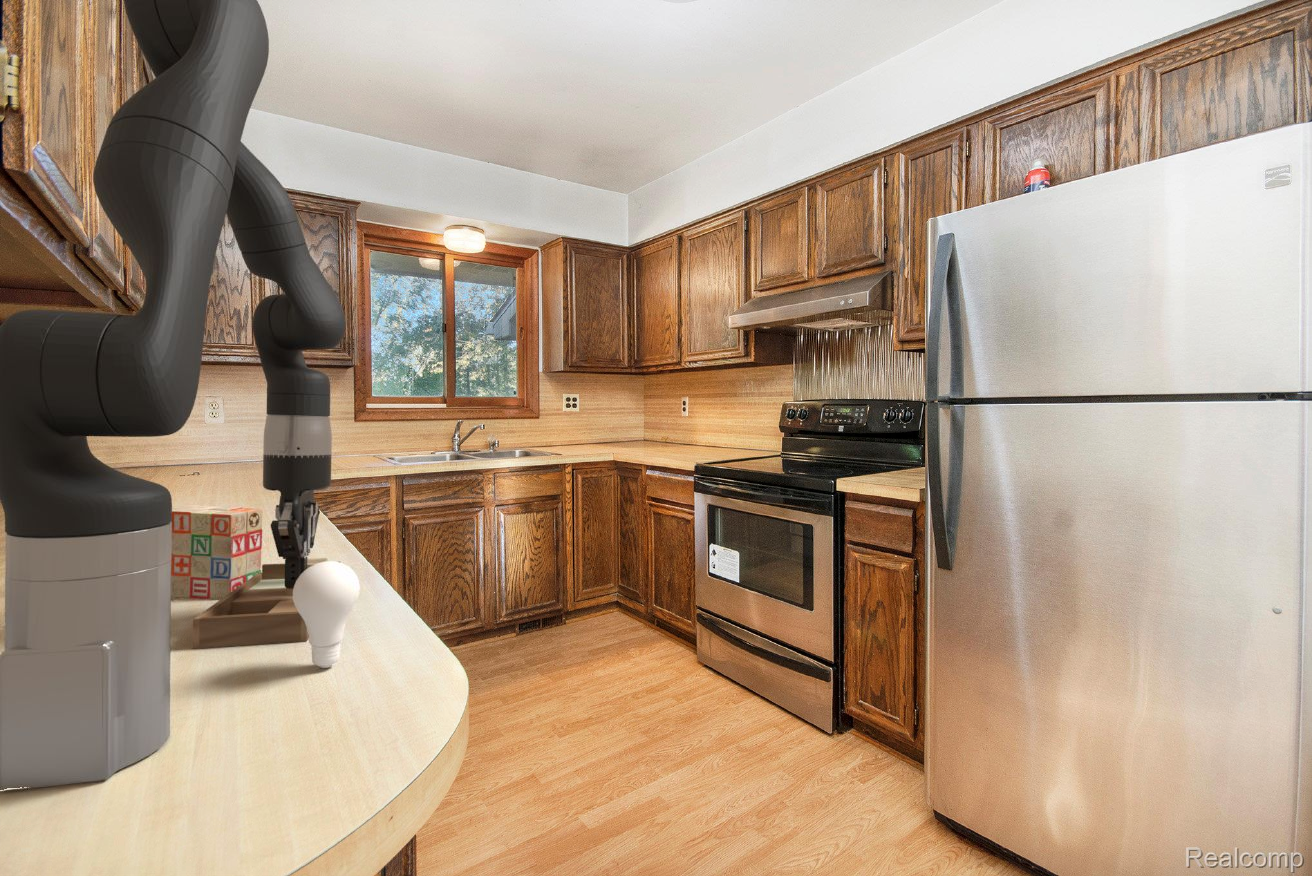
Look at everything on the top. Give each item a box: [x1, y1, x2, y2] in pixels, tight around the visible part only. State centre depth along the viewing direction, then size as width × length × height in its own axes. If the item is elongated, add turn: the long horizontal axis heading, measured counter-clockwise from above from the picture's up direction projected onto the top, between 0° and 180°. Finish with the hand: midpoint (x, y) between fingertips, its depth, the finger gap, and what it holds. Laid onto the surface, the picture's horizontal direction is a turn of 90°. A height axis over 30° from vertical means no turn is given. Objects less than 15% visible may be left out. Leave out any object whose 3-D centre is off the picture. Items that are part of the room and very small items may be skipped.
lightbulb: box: [293, 560, 361, 669], centre depth 64 cm, size 6×6×11 cm
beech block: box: [286, 557, 328, 596], centre depth 82 cm, size 4×4×4 cm
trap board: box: [192, 561, 341, 650], centre depth 80 cm, size 21×11×4 cm, turn 16°
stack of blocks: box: [171, 504, 263, 600], centre depth 90 cm, size 21×6×12 cm, turn 86°
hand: (295, 586), depth 79 cm, fingers closed
